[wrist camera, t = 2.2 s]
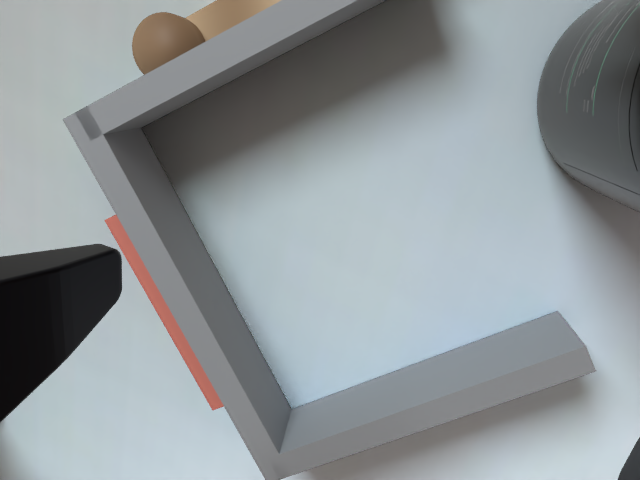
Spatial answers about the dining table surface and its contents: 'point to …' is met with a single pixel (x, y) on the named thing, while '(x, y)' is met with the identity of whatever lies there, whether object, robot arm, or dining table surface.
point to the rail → (188, 30)
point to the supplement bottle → (596, 100)
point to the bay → (219, 308)
